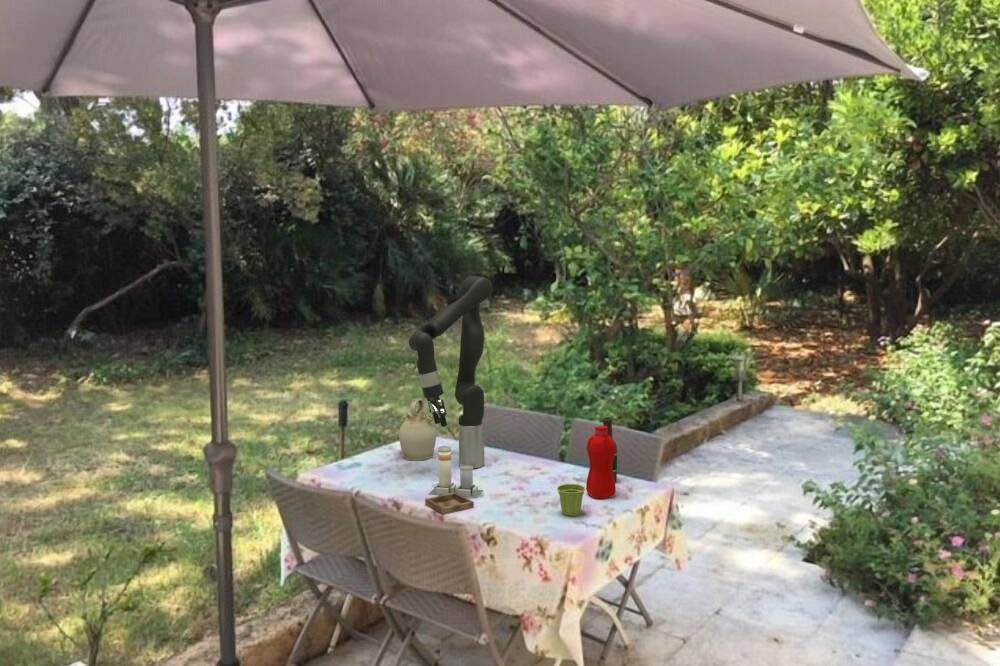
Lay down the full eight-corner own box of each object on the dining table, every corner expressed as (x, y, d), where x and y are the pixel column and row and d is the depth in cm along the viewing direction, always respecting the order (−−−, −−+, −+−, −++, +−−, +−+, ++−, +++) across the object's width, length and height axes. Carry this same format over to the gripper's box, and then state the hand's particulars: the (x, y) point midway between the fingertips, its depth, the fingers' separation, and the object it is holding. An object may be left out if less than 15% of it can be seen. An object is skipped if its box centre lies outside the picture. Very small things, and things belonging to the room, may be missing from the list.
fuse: (468, 490, 292) (468, 463, 291) (475, 493, 289) (475, 466, 287) (457, 492, 290) (457, 465, 288) (464, 496, 286) (464, 468, 285)
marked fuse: (447, 488, 294) (446, 445, 292) (454, 492, 290) (453, 448, 288) (436, 490, 292) (435, 447, 290) (442, 494, 288) (442, 450, 286)
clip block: (427, 496, 288) (427, 488, 288) (435, 488, 297) (435, 480, 296) (477, 500, 284) (476, 492, 283) (483, 492, 292) (483, 484, 292)
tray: (455, 499, 284) (455, 492, 284) (473, 509, 275) (473, 501, 274) (425, 506, 278) (425, 498, 278) (442, 517, 268) (442, 509, 268)
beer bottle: (612, 485, 298) (612, 421, 295) (592, 482, 303) (593, 419, 299) (620, 479, 305) (621, 417, 302) (601, 476, 309) (602, 414, 306)
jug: (444, 456, 338) (443, 397, 335) (415, 464, 327) (414, 403, 323) (420, 449, 348) (418, 392, 345) (391, 457, 337) (390, 397, 334)
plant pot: (551, 512, 272) (551, 487, 271) (572, 506, 277) (572, 481, 276) (569, 520, 264) (569, 494, 263) (591, 514, 270) (591, 488, 268)
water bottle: (604, 488, 296) (604, 420, 292) (618, 497, 285) (619, 427, 282) (581, 491, 293) (581, 423, 289) (595, 500, 282) (595, 430, 279)
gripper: (445, 382, 302) (456, 424, 304) (434, 379, 315) (444, 419, 317) (426, 388, 299) (437, 430, 301) (416, 384, 312) (426, 425, 314)
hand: (441, 424), depth 309 cm, fingers open, 8 cm apart
